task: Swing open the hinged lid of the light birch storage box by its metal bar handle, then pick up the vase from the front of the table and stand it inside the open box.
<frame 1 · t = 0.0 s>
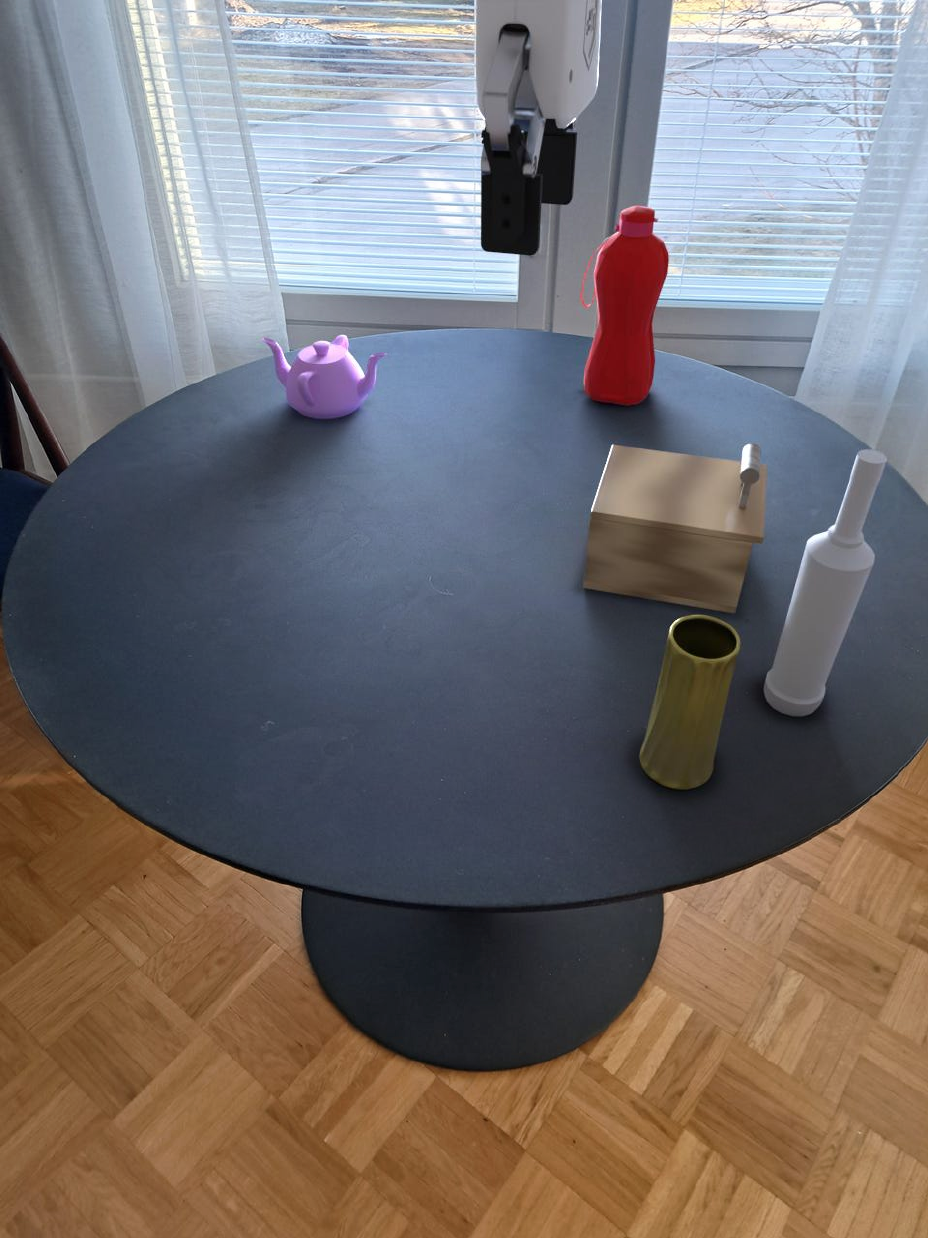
hand: (529, 225, 52), 41 cm above the table, tool pointing down, fingers open, 9 cm apart
water bottle: (610, 393, 126), on the table
lid: (685, 470, 87), point 12 cm above the table, hinge at 0.0°
vase: (675, 763, 74), on the table
bottle: (790, 699, 79), on the table
teapot: (329, 404, 124), on the table
box: (664, 562, 95), on the table
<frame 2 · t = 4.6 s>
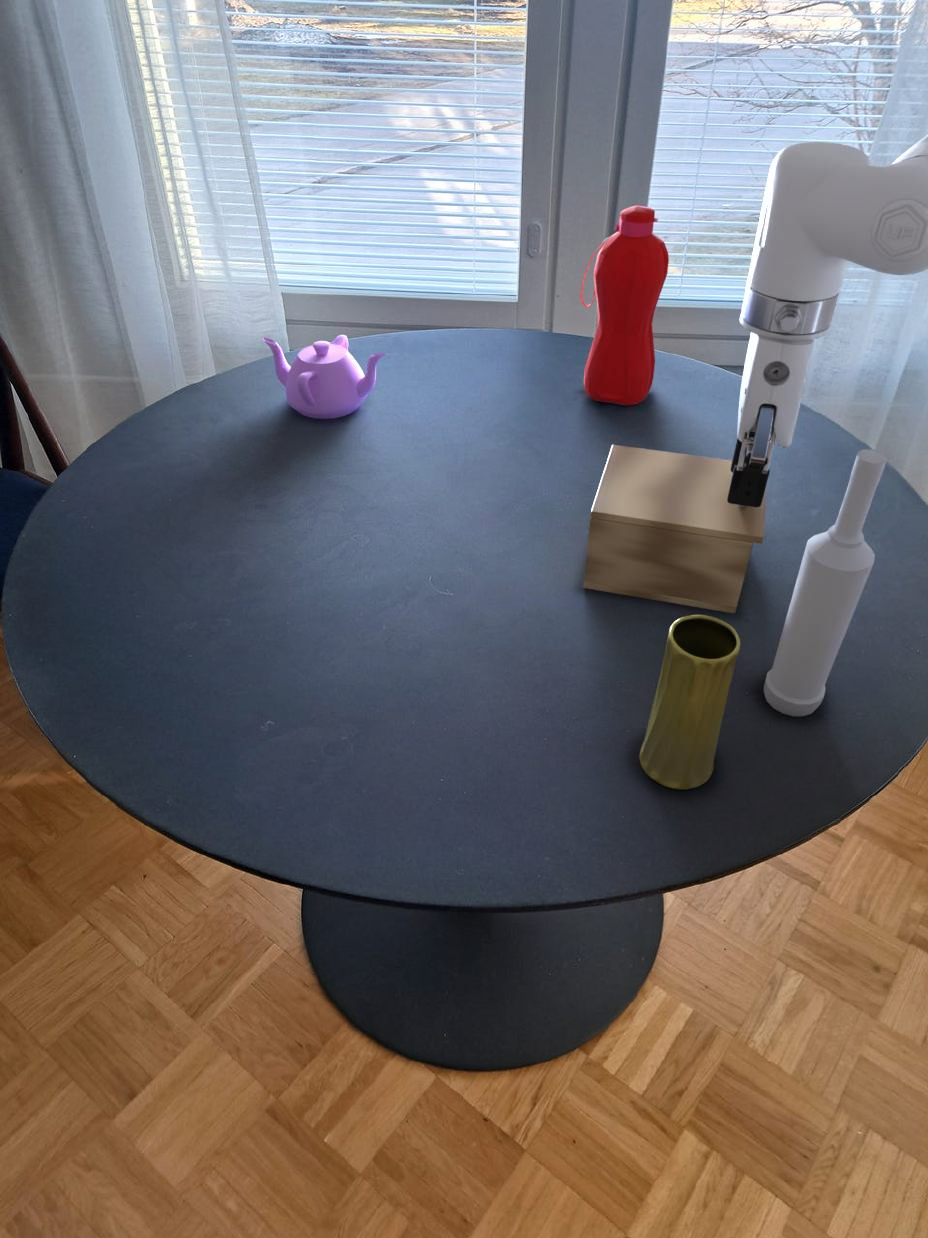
hand: (745, 486, 87), 11 cm above the table, tool pointing down, fingers closed on lid, 5 cm apart
lid: (685, 470, 87), point 12 cm above the table, hinge at 0.0°, touching gripper
everything else where it was.
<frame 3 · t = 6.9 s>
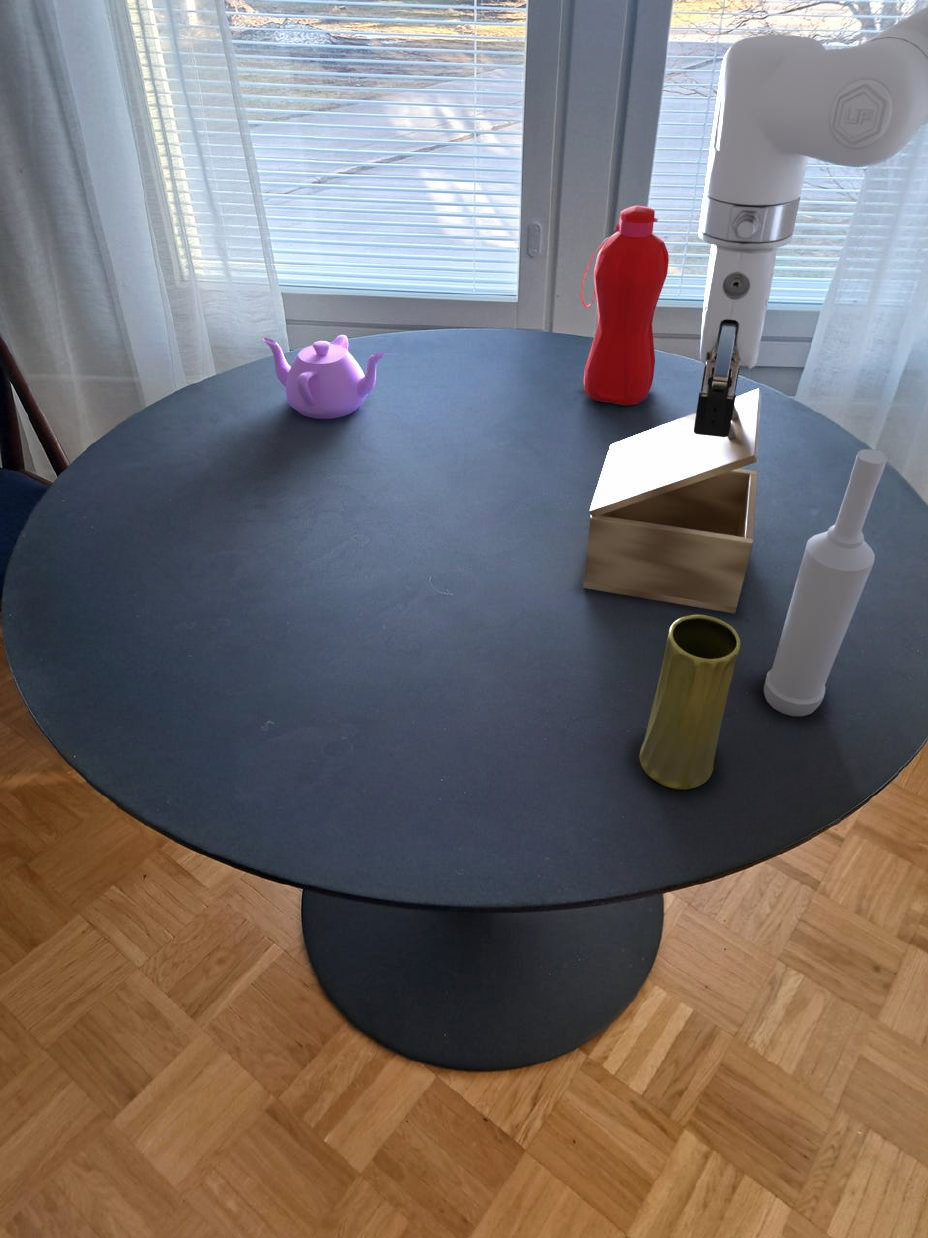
hand: (713, 417, 83), 18 cm above the table, tool pointing down, fingers closed on lid, 5 cm apart
lid: (667, 433, 85), point 15 cm above the table, hinge at 31.1°, touching gripper
everything else where it was.
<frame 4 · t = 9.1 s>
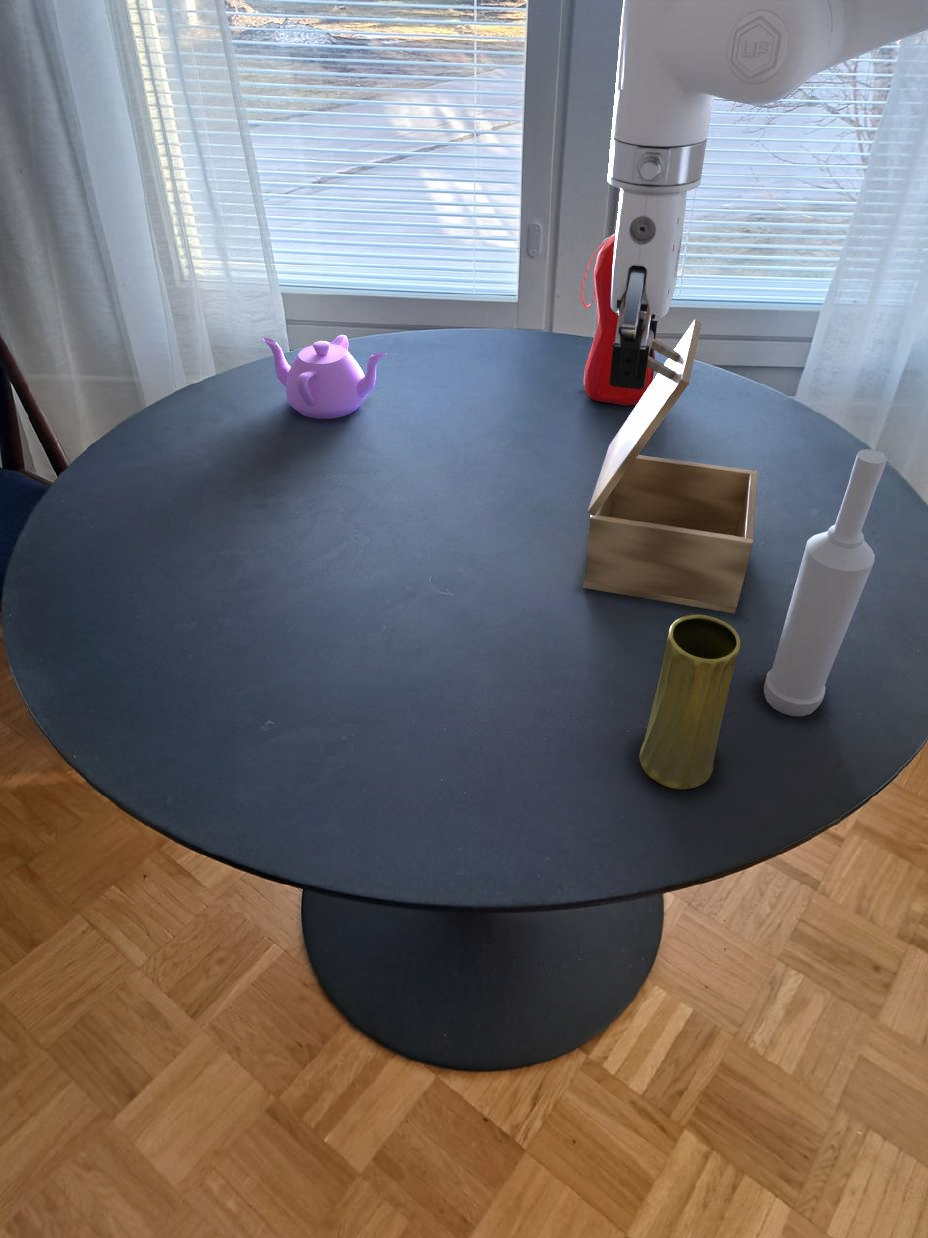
hand: (631, 371, 82), 21 cm above the table, tool pointing down, fingers closed on lid, 5 cm apart
lid: (623, 406, 85), point 18 cm above the table, hinge at 65.2°, touching gripper
everything else where it was.
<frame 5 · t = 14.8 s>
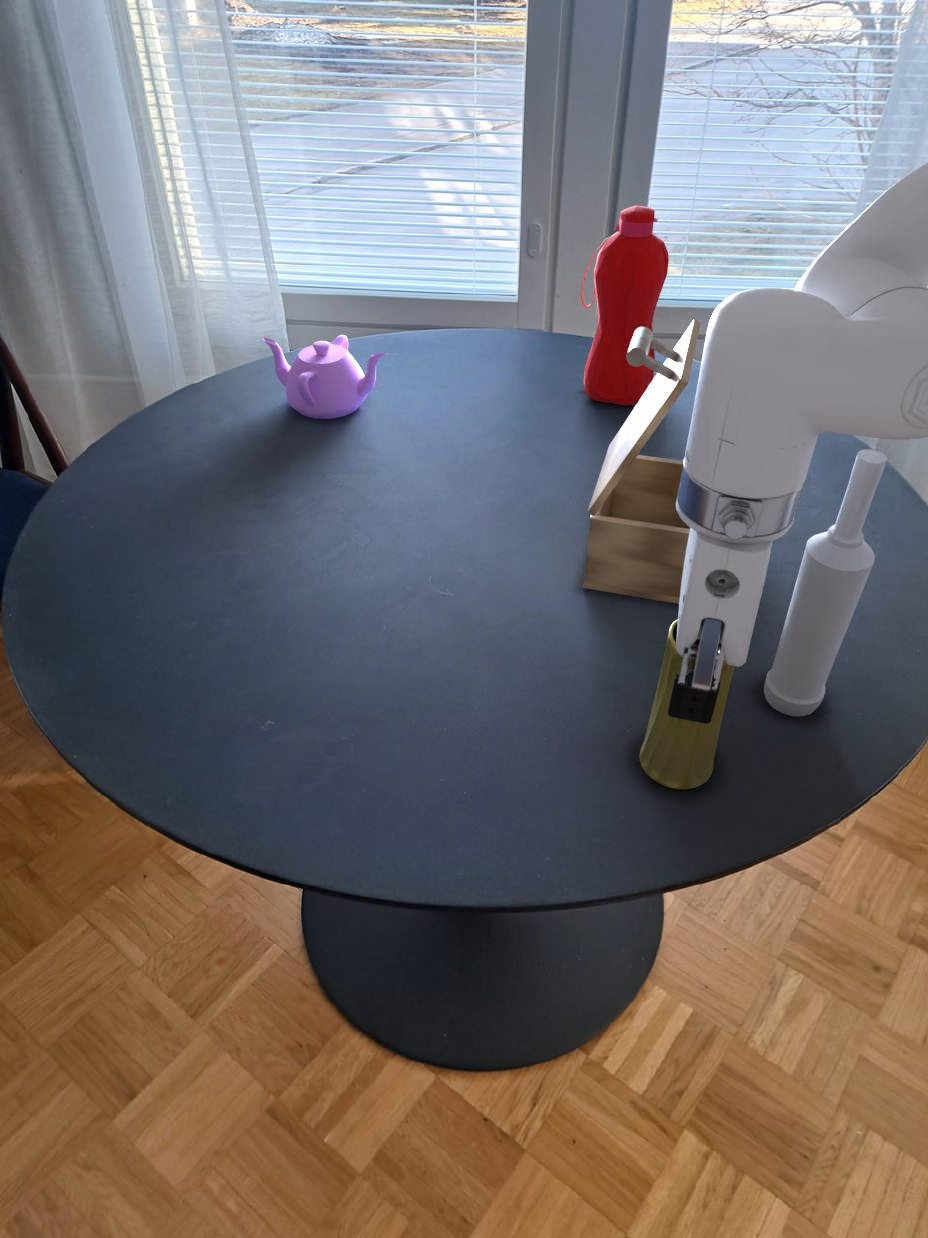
hand: (692, 688, 68), 9 cm above the table, tool pointing down, fingers closed on vase, 5 cm apart
lid: (623, 406, 85), point 18 cm above the table, hinge at 65.5°
vase: (675, 763, 74), on the table, touching gripper
everything else where it was.
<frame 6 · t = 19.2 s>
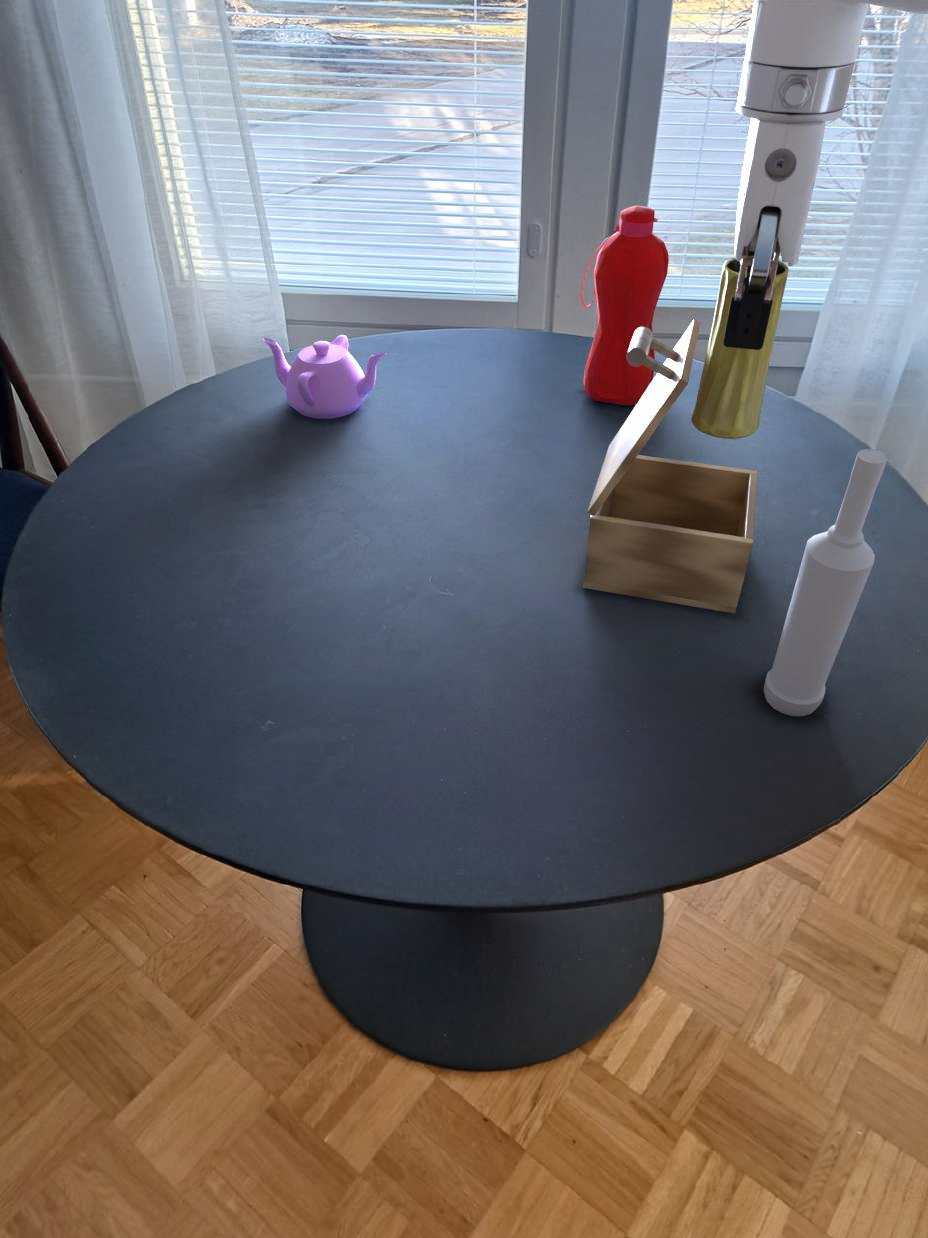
hand: (744, 330, 75), 27 cm above the table, tool pointing down, fingers closed on vase, 5 cm apart
vase: (724, 425, 81), point 18 cm above the table, touching gripper
everything else where it was.
when the fingers open (10 cm above the table, at t = 23.6 s): vase stays where it is, resting on box.
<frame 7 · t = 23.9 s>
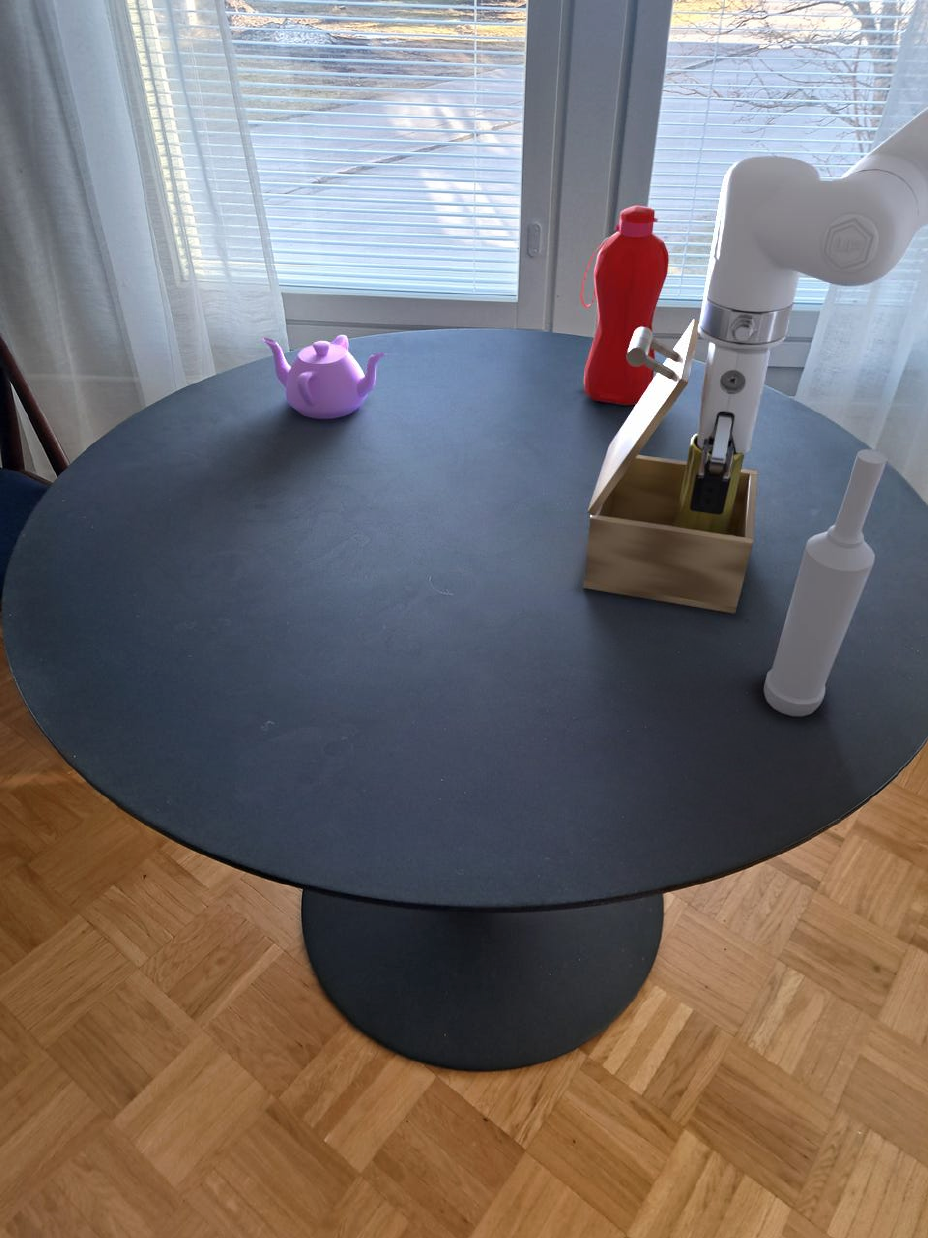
hand: (709, 488, 88), 10 cm above the table, tool pointing down, fingers open, 7 cm apart
vase: (693, 562, 94), point 1 cm above the table, touching box
everything else where it was.
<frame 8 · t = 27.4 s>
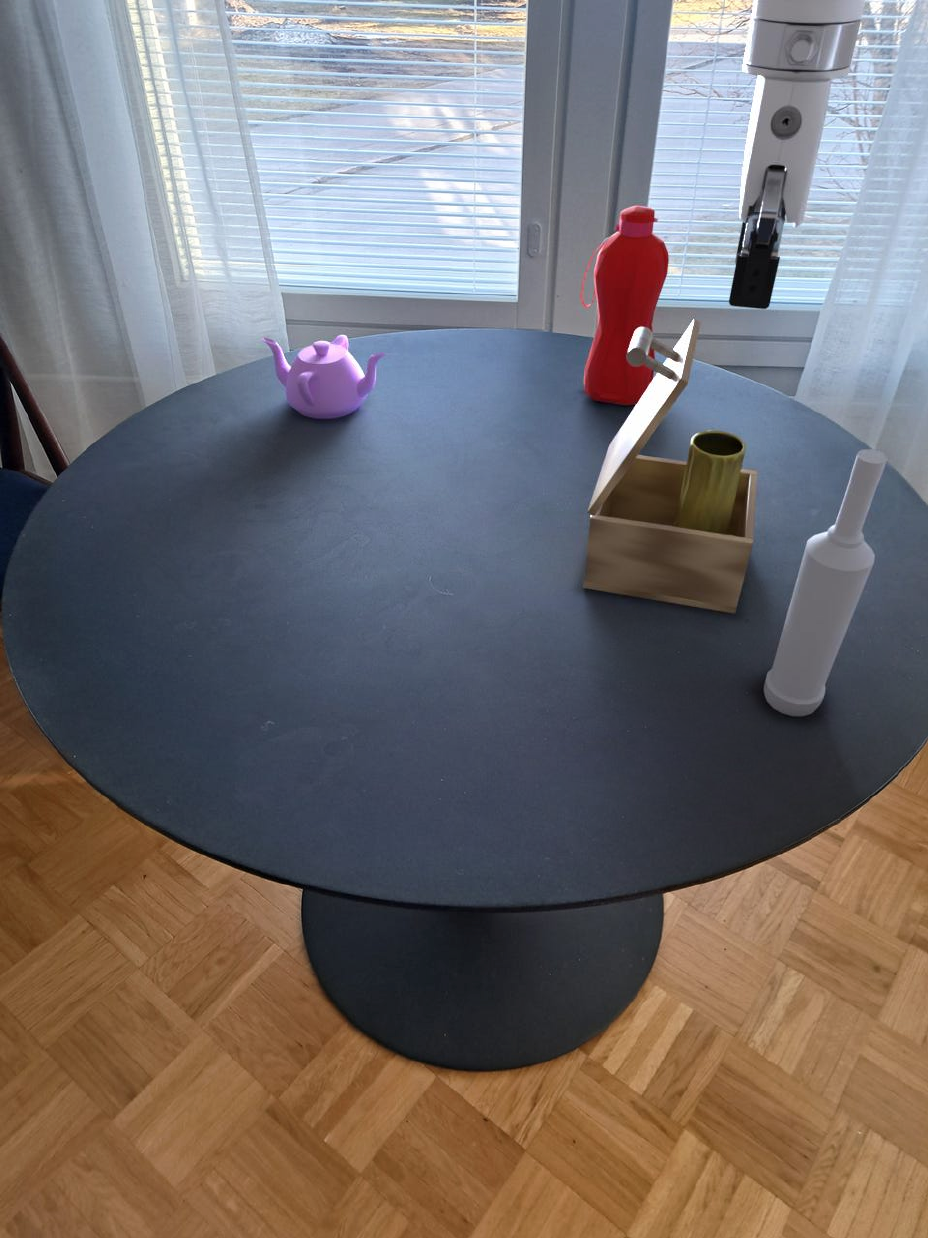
hand: (750, 285, 74), 30 cm above the table, tool pointing down, fingers open, 9 cm apart
nothing on the table moved.
at the end: lid at +66° (first picture: +0°); vase inside the target area in the box (3.0 cm from its centre), point 0.6 cm above the box's base; vase tilted 0° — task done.
